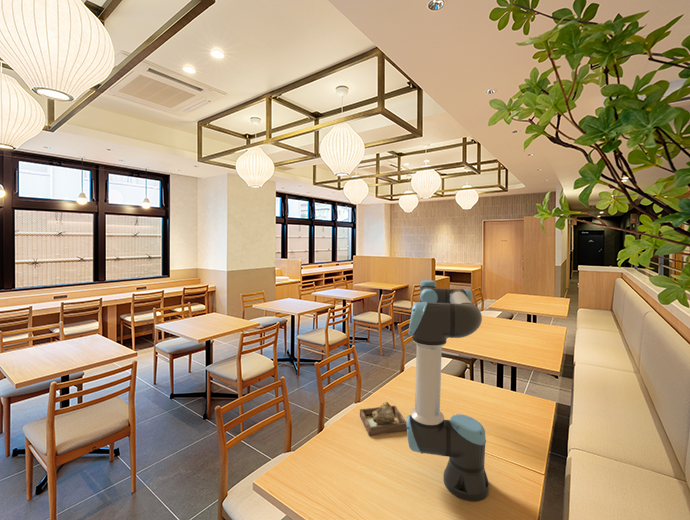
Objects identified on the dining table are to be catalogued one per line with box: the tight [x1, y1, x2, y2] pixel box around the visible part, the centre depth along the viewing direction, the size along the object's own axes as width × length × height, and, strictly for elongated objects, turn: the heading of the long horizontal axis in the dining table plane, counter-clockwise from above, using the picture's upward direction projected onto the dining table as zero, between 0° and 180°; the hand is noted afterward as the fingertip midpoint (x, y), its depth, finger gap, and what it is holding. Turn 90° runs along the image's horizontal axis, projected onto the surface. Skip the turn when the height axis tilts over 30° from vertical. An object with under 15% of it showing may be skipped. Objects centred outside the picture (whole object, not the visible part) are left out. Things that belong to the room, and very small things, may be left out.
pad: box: [366, 416, 398, 427], centre depth 156 cm, size 11×13×1 cm
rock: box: [372, 401, 396, 424], centre depth 155 cm, size 12×10×10 cm
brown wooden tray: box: [359, 405, 407, 437], centre depth 156 cm, size 16×18×4 cm
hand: (426, 353), depth 166 cm, fingers open, 13 cm apart
